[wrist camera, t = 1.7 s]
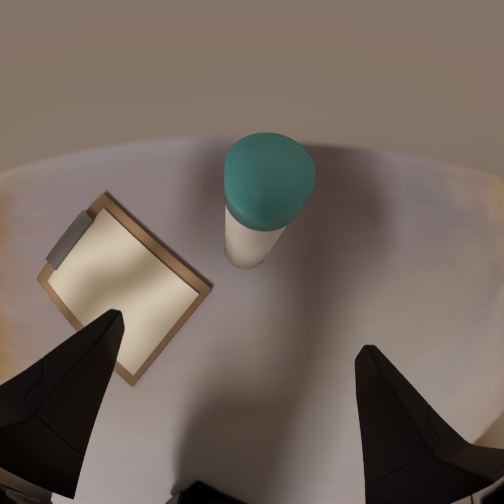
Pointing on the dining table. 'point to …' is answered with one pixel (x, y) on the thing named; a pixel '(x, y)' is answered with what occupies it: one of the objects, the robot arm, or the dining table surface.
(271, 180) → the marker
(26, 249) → the dining table surface
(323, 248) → the dining table surface
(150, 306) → the clipboard
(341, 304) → the dining table surface
